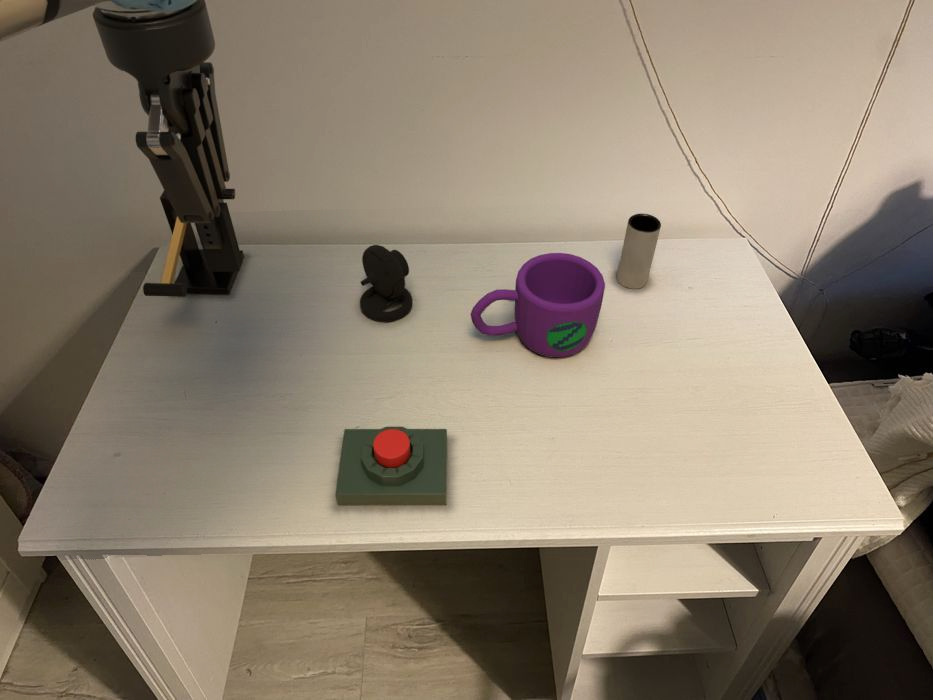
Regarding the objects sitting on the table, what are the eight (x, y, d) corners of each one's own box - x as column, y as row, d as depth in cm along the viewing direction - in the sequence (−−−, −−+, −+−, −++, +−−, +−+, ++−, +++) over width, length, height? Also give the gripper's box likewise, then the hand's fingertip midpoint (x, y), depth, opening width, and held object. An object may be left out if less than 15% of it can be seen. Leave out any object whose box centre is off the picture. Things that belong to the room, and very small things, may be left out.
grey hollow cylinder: (613, 270, 108) (624, 214, 100) (642, 268, 108) (655, 212, 101) (621, 290, 105) (633, 233, 97) (650, 288, 105) (665, 231, 98)
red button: (373, 467, 78) (371, 458, 77) (376, 438, 81) (374, 429, 79) (409, 467, 78) (408, 458, 77) (411, 438, 81) (410, 428, 79)
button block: (337, 505, 79) (333, 485, 76) (346, 440, 85) (342, 419, 82) (446, 505, 79) (445, 484, 76) (447, 440, 85) (446, 419, 82)
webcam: (424, 306, 102) (421, 251, 94) (383, 331, 98) (377, 275, 91) (389, 281, 106) (385, 225, 98) (349, 303, 102) (341, 247, 95)
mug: (581, 302, 103) (590, 246, 95) (606, 358, 95) (618, 302, 88) (462, 316, 100) (463, 260, 93) (478, 375, 92) (479, 319, 85)
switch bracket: (229, 294, 103) (203, 209, 92) (174, 293, 103) (142, 207, 93) (244, 256, 109) (221, 171, 99) (192, 254, 109) (164, 170, 99)
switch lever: (186, 300, 92) (179, 291, 90) (148, 299, 92) (140, 290, 90) (209, 198, 99) (203, 187, 96) (173, 197, 99) (167, 186, 96)
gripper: (175, 38, 45) (253, 314, 62) (223, -32, 54) (279, 225, 71) (55, 37, 45) (165, 314, 61) (123, -33, 54) (203, 224, 71)
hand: (226, 266), depth 66 cm, fingers closed
